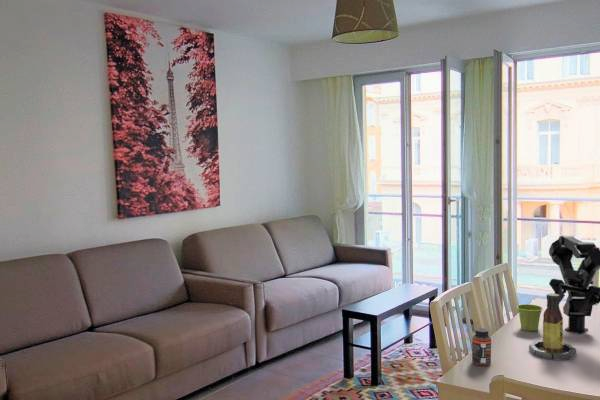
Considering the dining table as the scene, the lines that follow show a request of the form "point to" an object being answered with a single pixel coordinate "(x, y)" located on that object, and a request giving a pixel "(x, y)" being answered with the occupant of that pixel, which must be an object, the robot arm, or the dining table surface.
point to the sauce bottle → (553, 325)
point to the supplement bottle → (481, 347)
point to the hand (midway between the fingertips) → (566, 309)
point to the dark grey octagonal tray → (566, 353)
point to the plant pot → (529, 316)
